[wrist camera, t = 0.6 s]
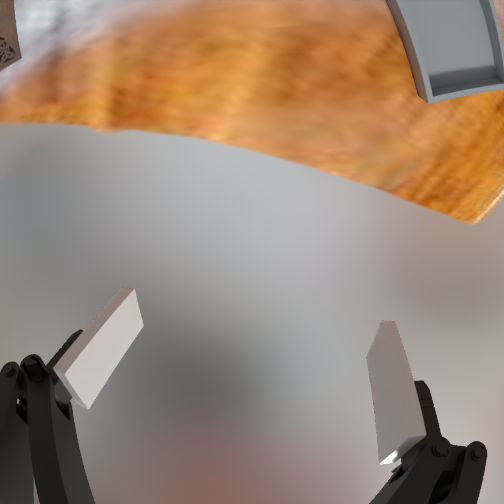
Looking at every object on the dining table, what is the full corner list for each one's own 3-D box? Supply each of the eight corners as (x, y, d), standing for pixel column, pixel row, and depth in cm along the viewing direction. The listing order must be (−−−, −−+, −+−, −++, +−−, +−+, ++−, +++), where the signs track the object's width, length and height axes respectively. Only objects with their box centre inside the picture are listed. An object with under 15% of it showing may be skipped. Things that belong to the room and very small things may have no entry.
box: (379, -13, 18) (389, -14, 16) (473, -17, 11) (487, -15, 9) (418, 95, 30) (428, 104, 28) (497, 80, 23) (509, 88, 21)
